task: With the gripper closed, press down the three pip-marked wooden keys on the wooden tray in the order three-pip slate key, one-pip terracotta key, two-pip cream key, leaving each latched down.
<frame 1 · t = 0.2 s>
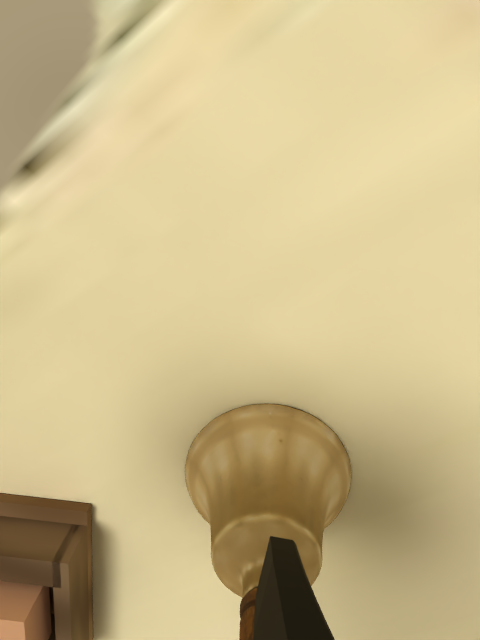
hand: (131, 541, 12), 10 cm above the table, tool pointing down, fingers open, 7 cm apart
hand bell: (267, 472, 23), on the table
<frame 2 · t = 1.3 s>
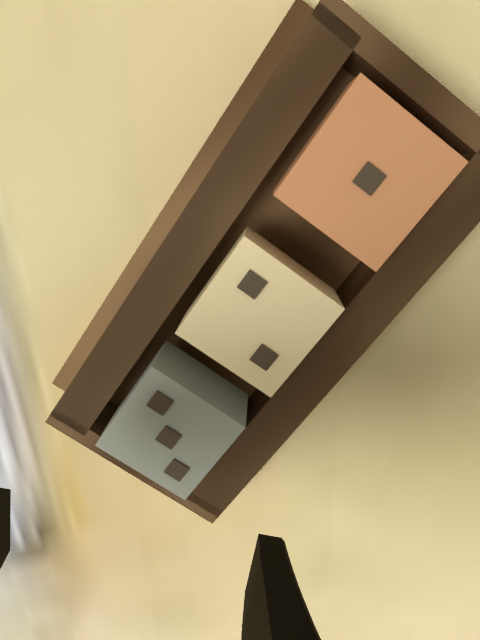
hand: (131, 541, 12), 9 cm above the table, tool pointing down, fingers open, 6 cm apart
key one terracotta: (360, 177, 15), point 3 cm above the table, slide at 0.0 cm
key two cream: (258, 310, 16), point 3 cm above the table, slide at 0.0 cm
key three slate: (175, 419, 18), point 3 cm above the table, slide at 0.0 cm
wooden tray: (259, 287, 19), on the table
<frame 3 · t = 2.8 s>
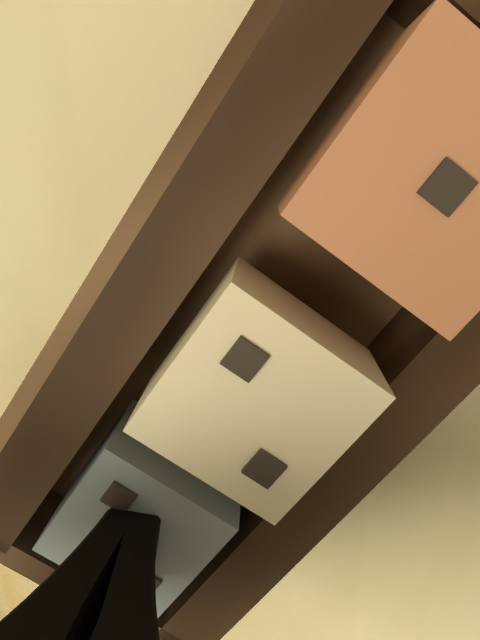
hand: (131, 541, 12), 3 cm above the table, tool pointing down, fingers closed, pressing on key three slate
key one terracotta: (422, 184, 9), point 3 cm above the table, slide at 0.0 cm
key two cream: (256, 388, 10), point 3 cm above the table, slide at 0.0 cm
key three slate: (144, 507, 13), point 2 cm above the table, slide at 1.1 cm, touching gripper
wooden tray: (258, 337, 14), on the table
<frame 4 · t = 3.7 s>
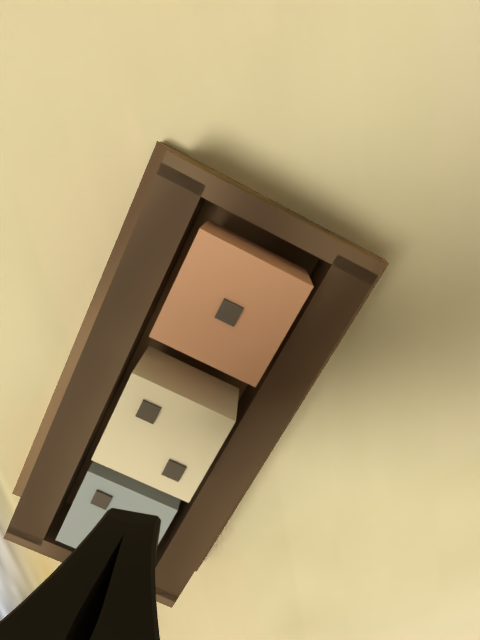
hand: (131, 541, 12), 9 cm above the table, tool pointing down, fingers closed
key one terracotta: (231, 301, 16), point 3 cm above the table, slide at 0.0 cm
key two cream: (168, 423, 18), point 3 cm above the table, slide at 0.0 cm
key three slate: (123, 505, 20), point 2 cm above the table, slide at 1.1 cm
wooden tray: (182, 384, 21), on the table
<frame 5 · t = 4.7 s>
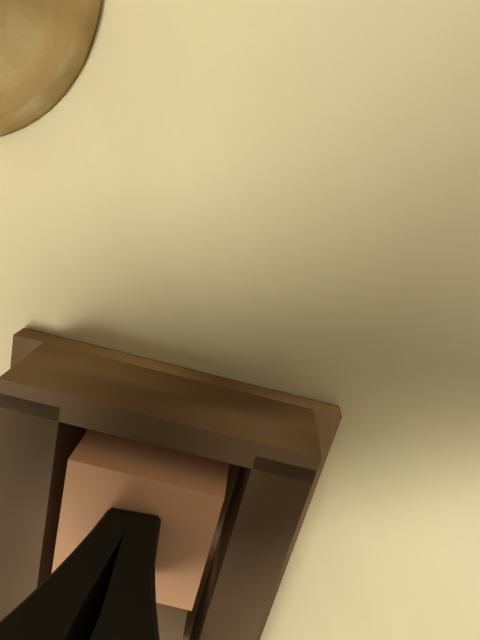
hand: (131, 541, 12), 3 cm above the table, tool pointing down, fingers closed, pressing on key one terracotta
key one terracotta: (144, 507, 13), point 2 cm above the table, slide at 1.1 cm, touching gripper
wooden tray: (134, 580, 17), on the table
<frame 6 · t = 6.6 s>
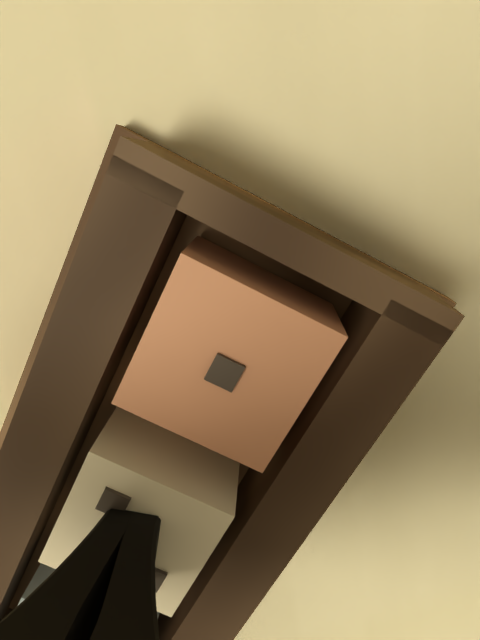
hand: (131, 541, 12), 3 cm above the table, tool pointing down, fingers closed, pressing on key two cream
key one terracotta: (228, 351, 11), point 2 cm above the table, slide at 1.1 cm
key two cream: (144, 507, 13), point 2 cm above the table, slide at 1.1 cm, touching gripper
key three slate: (79, 628, 15), point 2 cm above the table, slide at 1.1 cm
wooden tray: (161, 461, 15), on the table
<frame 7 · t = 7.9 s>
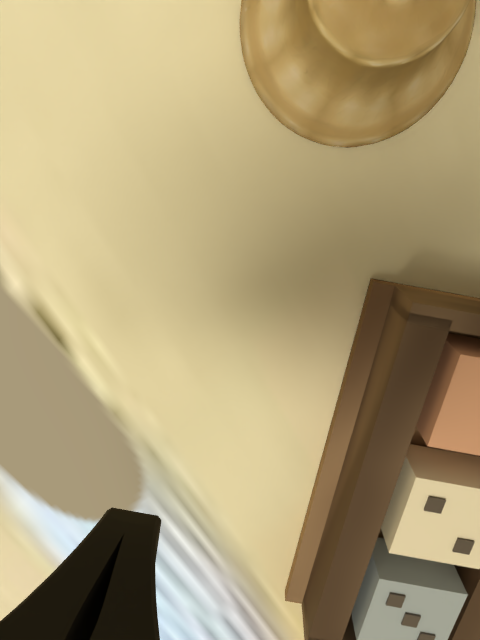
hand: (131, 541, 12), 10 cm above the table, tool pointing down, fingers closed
key two cream: (438, 504, 20), point 2 cm above the table, slide at 1.1 cm
key three slate: (403, 595, 22), point 2 cm above the table, slide at 1.1 cm
wooden tray: (422, 473, 22), on the table
hand bell: (353, 26, 17), on the table
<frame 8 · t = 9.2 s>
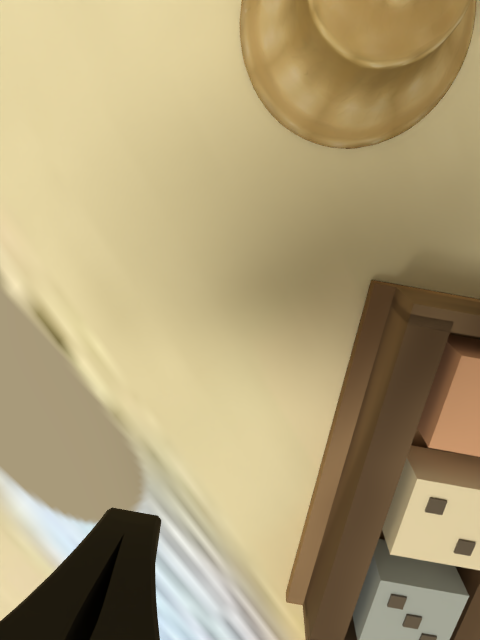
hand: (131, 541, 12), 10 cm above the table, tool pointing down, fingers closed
key two cream: (439, 506, 20), point 2 cm above the table, slide at 1.1 cm
key three slate: (404, 597, 22), point 2 cm above the table, slide at 1.1 cm
wooden tray: (423, 474, 22), on the table
hand bell: (353, 27, 17), on the table
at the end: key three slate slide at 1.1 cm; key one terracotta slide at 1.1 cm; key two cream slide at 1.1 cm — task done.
